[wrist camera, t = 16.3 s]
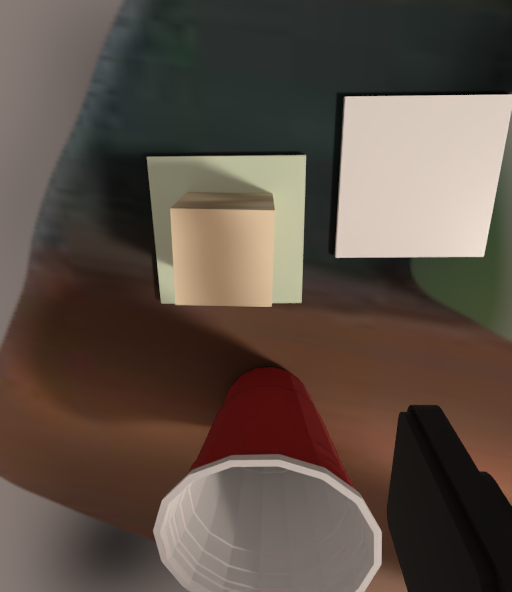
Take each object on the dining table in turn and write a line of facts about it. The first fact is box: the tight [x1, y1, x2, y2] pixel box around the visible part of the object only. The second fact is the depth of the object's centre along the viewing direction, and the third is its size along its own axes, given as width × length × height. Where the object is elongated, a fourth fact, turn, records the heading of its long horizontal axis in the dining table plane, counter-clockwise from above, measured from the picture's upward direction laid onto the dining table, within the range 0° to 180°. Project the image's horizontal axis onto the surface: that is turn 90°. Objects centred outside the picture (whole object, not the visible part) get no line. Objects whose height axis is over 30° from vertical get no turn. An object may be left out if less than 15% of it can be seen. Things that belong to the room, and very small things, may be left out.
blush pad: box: [335, 95, 512, 258], centre depth 25 cm, size 9×9×1 cm
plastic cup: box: [153, 367, 382, 592], centre depth 26 cm, size 11×11×12 cm
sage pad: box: [147, 155, 306, 304], centre depth 27 cm, size 9×9×1 cm
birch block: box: [170, 192, 275, 307], centre depth 24 cm, size 5×5×5 cm
